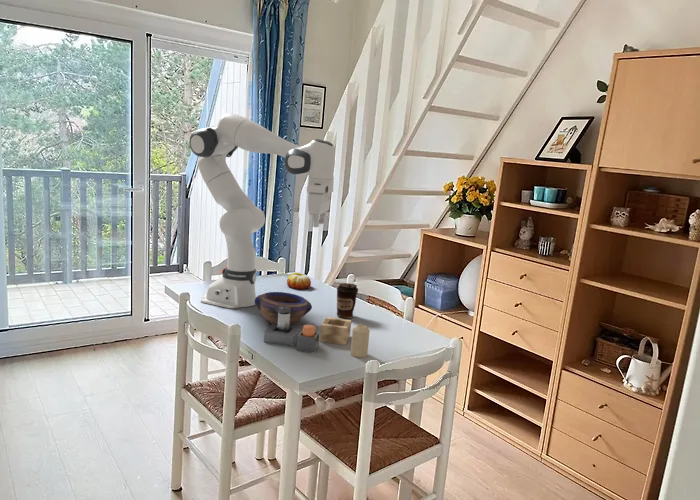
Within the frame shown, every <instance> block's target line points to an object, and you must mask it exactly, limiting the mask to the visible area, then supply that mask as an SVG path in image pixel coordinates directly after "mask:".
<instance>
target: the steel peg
mask: <svg viewBox="0 0 700 500" xmlns="http://www.w3.org/2000/svg"><path fill="white" fill-rule="evenodd" d="M290 311H291V308H290V307H286V306H281V307H279V308H278V325H277V331H279V332H286V333H289V324H290Z"/></svg>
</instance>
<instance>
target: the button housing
mask: <svg viewBox="0 0 700 500" xmlns="http://www.w3.org/2000/svg"><path fill="white" fill-rule="evenodd" d="M302 334H303V329H301V332H300V333H299V334H298V336H297V341H296V351H298V350H300V351H299V352H305V351H307V352H306V353H312V352H313V353H314V352H315V353H316V351H317V350H318V348H319V345H320V334H321V331H315V336H314V337H309V336H302ZM313 353H312V354H313Z"/></svg>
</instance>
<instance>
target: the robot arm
mask: <svg viewBox="0 0 700 500" xmlns="http://www.w3.org/2000/svg"><path fill="white" fill-rule="evenodd" d="M239 148H240V149H242V150H244V151H247V152H249V153H255V154H270V155H276V156H280V157H282V158H284V166H285V169H286V170H287V171H288V172H289V173H290V174H291V175H293V176H308V185H307V187H306V193H308V195H307V207H308V209H307V212H308V214H309V216H312V223H313V224H312V227H313V228H319V227H320V225H324V224H325V219H326V214H327V212H328V211H330V205H331V203H330V202H331V193H334V183H335V181H334V179H335V177H334V169H335V164H336V151H335V146H334V144H333V143H332V142H330V141H327V140H323V139H320V138H319V139H318V138H317V139H316V138H315V139H312V140H311V141H310V142H309V143H306V144H305V145H302V146H300V145H299V144H296V143H294V142H291V141H289V140H287V139H284V138H283V137H280V136H279V135H278V134H275V133H274V132H272V131H271V130H269V129H267V128H266V127H264V126H262V125H261V124H259V123H257V122H255V121H253V120H251V119H249V118H247V117H245V116H243V115H239V114H235V113H231V112H229V113H228V112H227V113H225V114H223V115H222V116H221V118H220V119H218V124H217V125H215V126H214V125H213V126H209V127H205V128H199V129H197V130H195V131H193V133H191V135H190V137H189V149H190V150H191V151H192V153H193V154H194V155H195V156H197V157H199V159H198V160H197V167H198V170H199V172H200V175H201V177H202V179H203V181H204V184H205V185H206V187H207V188H208V190H209V193H210V194H211V196H212V197H213V199H214V201H215V203H216V204H218V205H219V206H221V207H222V208H223V209H224V210H225V213H224V214H223V215H222V216H220V219H219V228H220V230H221V231H220V232H222V234H224V238H225V242H226V247H227V260H226V261H227V265H226V266H225V267H224V268H223V269H221V272H220V274H222V275H221V276H220V277H218V278H217V279H216V280H214V281H213V282H211V283H210V284H209V286H208V288H207V291H206V293H205V294H203V295H202V296H201V297H200V302H201V303H202V304H208V305H212V306H217V307H223V308H226V309H227V308H228V309H236V308H237V309H238V308H247V307H252V306H256V305H255V299H256V297H257V295H256V294H257V293H256V279H257V269H256V253H257V252H256V251H257V250H256V248H255V246H254V245H253V240H252V234H253V233H256V232H258V231H259V230H261V228H262V227H264V225H265V222H266V217H265V213H264V212H263V210H262V209H261V208H259V207H257V206H256V205H255V204H254V203H253V201H252V200H251V199H250V198H249V197H248V196H247V194H246V193H245V192H244V191H243V189H242V187H240V185H239V183H238V181H237V180H236V178H235V176H234V174H233V173H232V171H231V170H230V168H229V166H228V164H227V161H226V160H227V159H226V158H231V157H232V156H233V154H234V152H235V151H236V150H237V149H239Z"/></svg>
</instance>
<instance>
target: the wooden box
mask: <svg viewBox="0 0 700 500" xmlns="http://www.w3.org/2000/svg"><path fill="white" fill-rule="evenodd" d="M351 327H352V320H351V319H346V318H339V317H337V318H336V317H328V316H326V318H325V319H324V320H323V322H322V323H321V325H320V333H319V343H320V342H321V343H329V344H336V345H341V346H346V345H347V343H348V341H349V339H350V338H351V330H352V328H351Z"/></svg>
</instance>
